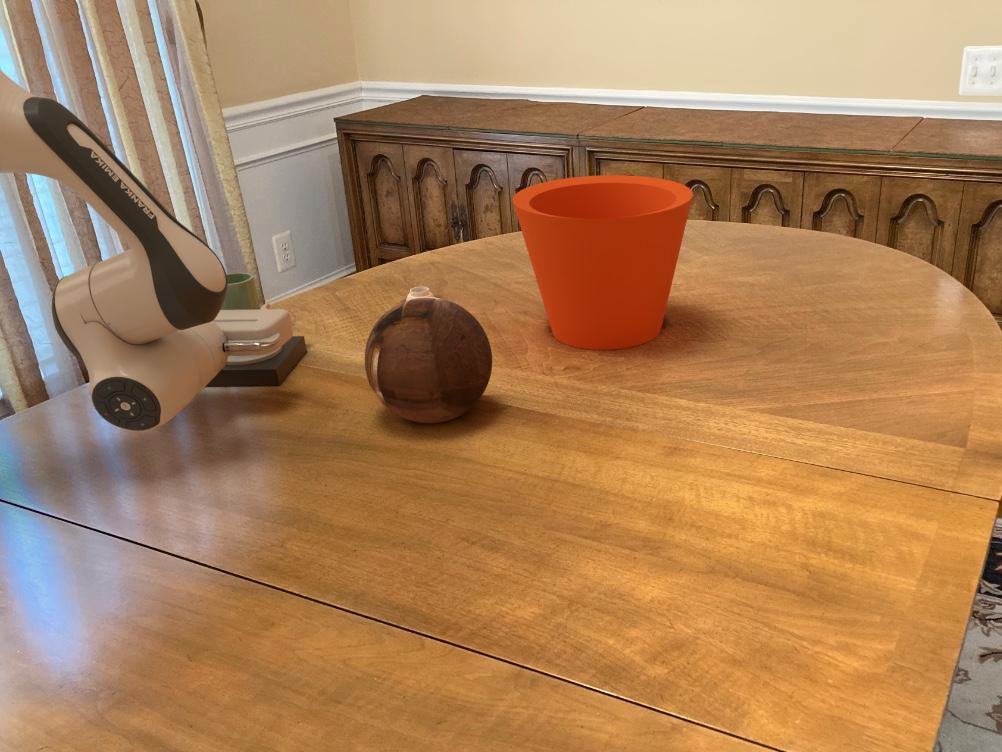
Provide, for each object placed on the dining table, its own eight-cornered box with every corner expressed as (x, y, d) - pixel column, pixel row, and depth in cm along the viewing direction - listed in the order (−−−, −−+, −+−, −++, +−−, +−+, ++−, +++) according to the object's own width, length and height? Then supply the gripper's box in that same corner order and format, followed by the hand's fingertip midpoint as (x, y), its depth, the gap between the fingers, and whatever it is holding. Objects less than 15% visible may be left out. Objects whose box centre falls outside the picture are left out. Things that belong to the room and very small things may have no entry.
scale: (191, 386, 131) (186, 366, 129) (225, 352, 141) (221, 333, 140) (279, 385, 130) (275, 364, 129) (307, 351, 141) (303, 331, 139)
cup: (222, 356, 132) (206, 285, 128) (236, 341, 137) (221, 272, 132) (260, 355, 132) (245, 284, 127) (273, 341, 136) (259, 272, 132)
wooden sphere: (487, 385, 128) (477, 274, 121) (505, 435, 115) (495, 314, 108) (371, 400, 125) (354, 287, 118) (376, 453, 112) (357, 330, 105)
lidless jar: (442, 308, 155) (429, 299, 159) (440, 290, 154) (427, 282, 158) (413, 314, 153) (400, 306, 157) (410, 296, 152) (398, 288, 155)
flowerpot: (604, 290, 160) (600, 168, 151) (725, 325, 145) (729, 190, 135) (487, 333, 145) (475, 199, 136) (609, 377, 129) (604, 229, 120)
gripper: (267, 323, 115) (303, 285, 127) (98, 325, 116) (150, 288, 128) (277, 372, 118) (311, 330, 130) (112, 374, 119) (162, 333, 131)
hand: (230, 309), depth 129 cm, fingers open, 8 cm apart
